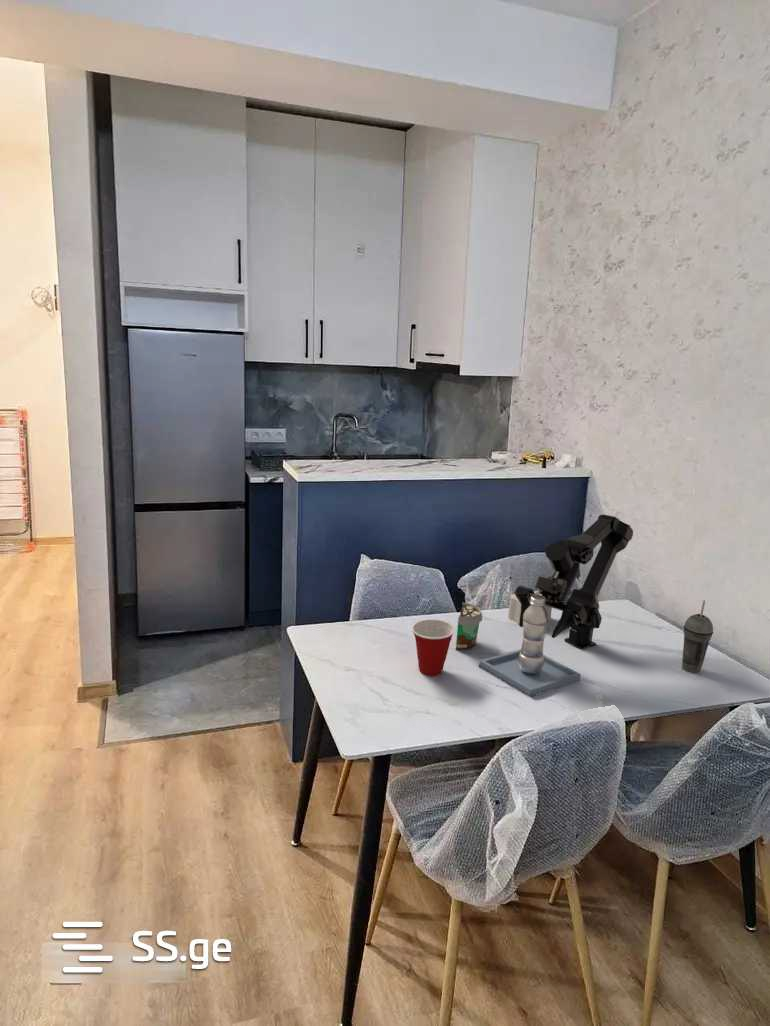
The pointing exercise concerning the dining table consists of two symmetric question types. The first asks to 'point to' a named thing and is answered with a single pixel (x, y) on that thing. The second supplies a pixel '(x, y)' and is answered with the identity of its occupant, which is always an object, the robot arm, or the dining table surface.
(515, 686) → the blue-gray tray
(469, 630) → the food container
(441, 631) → the plastic cup
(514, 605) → the beige lumpy box
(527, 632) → the plastic bottle
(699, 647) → the beverage cup
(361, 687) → the dining table surface
